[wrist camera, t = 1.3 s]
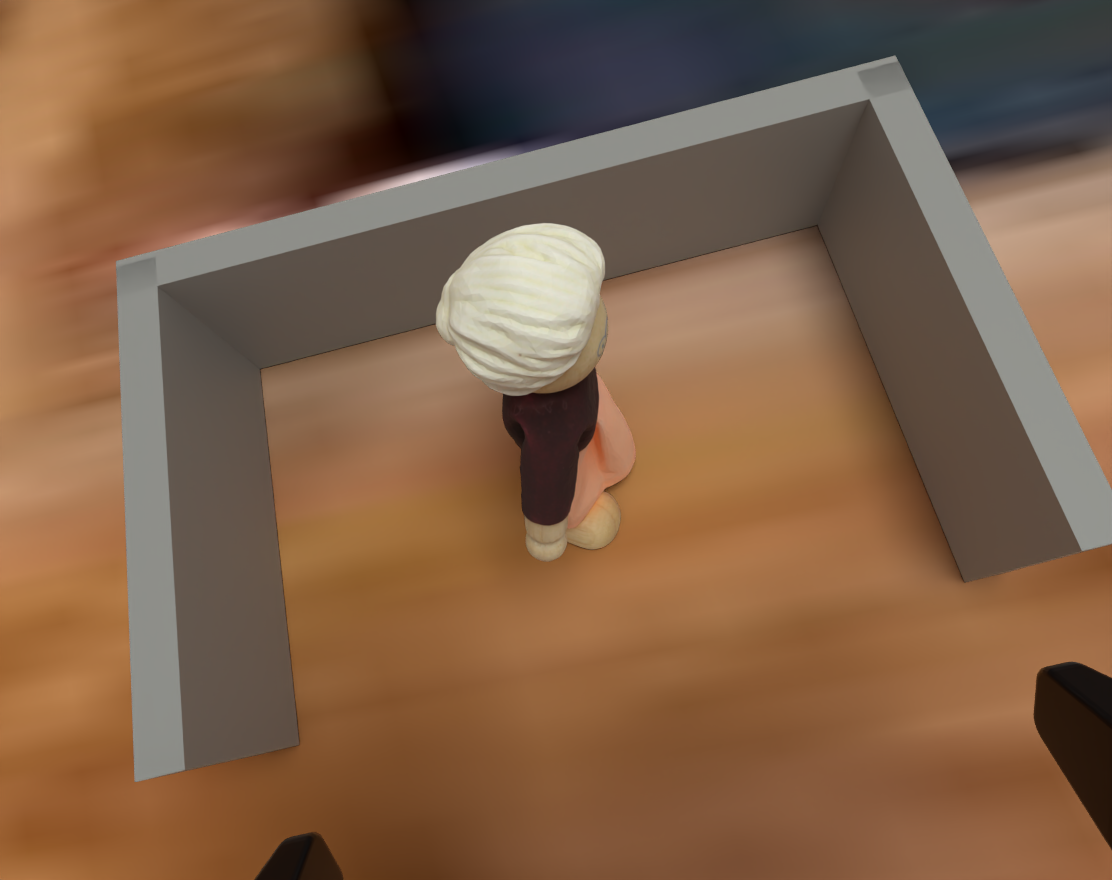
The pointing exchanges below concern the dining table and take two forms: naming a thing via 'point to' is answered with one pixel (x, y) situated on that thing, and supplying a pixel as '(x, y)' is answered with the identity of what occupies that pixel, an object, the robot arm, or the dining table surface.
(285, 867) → the robot arm
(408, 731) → the dining table surface
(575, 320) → the grandmother figurine
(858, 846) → the dining table surface
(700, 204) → the open crate
